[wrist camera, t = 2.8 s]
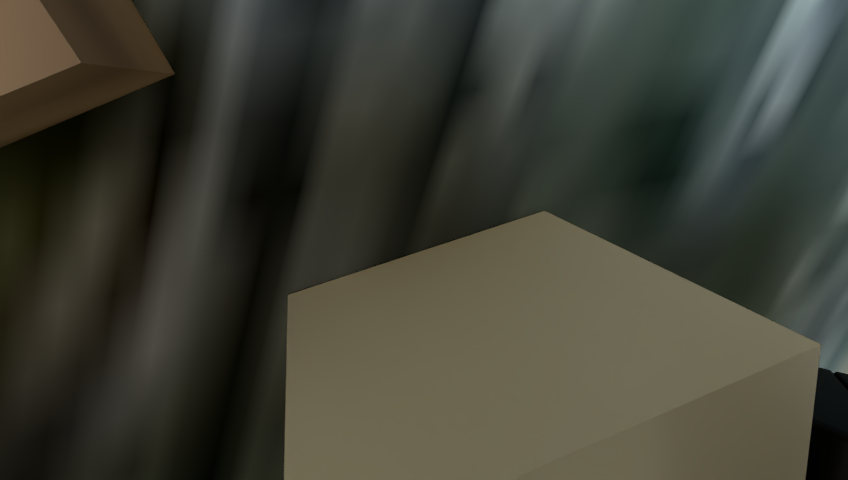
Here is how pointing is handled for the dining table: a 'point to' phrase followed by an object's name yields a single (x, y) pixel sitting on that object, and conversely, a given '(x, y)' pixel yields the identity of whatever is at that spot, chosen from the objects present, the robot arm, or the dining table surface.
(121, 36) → the walnut block
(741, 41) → the dining table surface
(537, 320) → the cube
